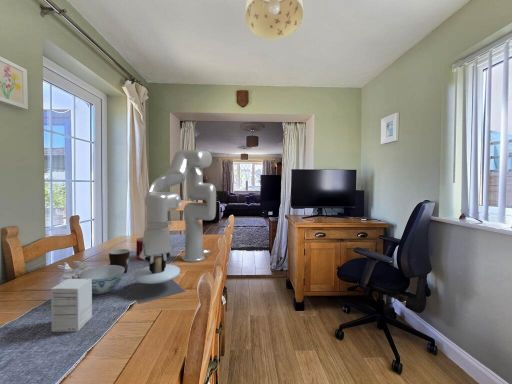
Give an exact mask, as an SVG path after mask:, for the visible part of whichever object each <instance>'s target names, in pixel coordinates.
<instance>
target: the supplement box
mask: <svg viewBox="0 0 512 384" xmlns="http://www.w3.org/2000/svg"><path fill="white" fill-rule="evenodd" d="M92 296H93V293H92V279H79V278H67V279H65V280H64V281H62V282H61V283H58V284H57V285H55V286H53V287H51V289H50V297H51V298H50V305H51V308H50V309H51V310H50V311H51V318H50V319H51V332H52V333H62V332H63V333H64V332H65V333H66V332H79V331H80V330H81V329H82V328H83V327H84V326H85V325H87V323H88V321H90V319H92V317H93V297H92Z"/></svg>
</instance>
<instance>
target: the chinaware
mask: <svg viewBox="0 0 512 384" xmlns="http://www.w3.org/2000/svg"><path fill="white" fill-rule="evenodd" d="M124 275H125V274H124V267H122V266H117V265H100V266H94V267H91V268H88V269H85V270H83V271H81V272H80V273H79V274H78V279H92V294H97V295H99V294H105V293H108V292H110V291H112V290H113V288H114V289H115V287H116V286H118V285H119V283H120V282H121V280H122V279H123V276H124Z"/></svg>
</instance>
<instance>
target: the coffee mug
mask: <svg viewBox="0 0 512 384" xmlns="http://www.w3.org/2000/svg"><path fill="white" fill-rule="evenodd" d="M130 252H131V251H130V249H127V248H117V249H113V250H109V251H108V257H109V258H108V259H109V264H110V265H117V266H122V267H124V274H123V275H125V274H126V273H128V268H129V262H130V261H129V260H130Z"/></svg>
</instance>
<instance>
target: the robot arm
mask: <svg viewBox="0 0 512 384" xmlns="http://www.w3.org/2000/svg"><path fill="white" fill-rule="evenodd" d="M212 162H213V157H212V154H211V152H210V151H208V150H201V149H181V150H180V149H179V150H178V151H176V153H175V154H174V156H173V158H172V160H171V163H170V166H169V167H168V170H167V171H166V172H165V173H163V174H161V175H160V176H158V177H157V178H155V180H153V181H152V183H151V184H150V185H149V188H148V189H147V192H146V193H145V194H146V195H145V198H144V204H145V207H146V228H144V231H143V236H142V237H143V250H142V252H141V254H140V255H139V257H140V258H142V259H145V260H144V261H147V262H148V266H149V270H150V271H151V272H152V273H155V263H154V261H153V259H154V256H162V271H165V268H166V264H167V263H166V262H167V261H168V259H169V257H170V256H171V255H172V254H174V253H175V250H174V247H173V246H172V236H171V230H170V228H169V226H170V225H172V221H171V220H169V218H168V212H169V211H175V210H177V209H179V208H180V206H181V205H182V197H181V196H180V194H178V193H176V192H175V191H174V192H171V191H170V192H169V191H168V192H167V191H164V190H166V189H169V188H170V187H173V186H177V185H180V184H182V183H183V182H185V181H186V197H187V198H188V200H192V201H204V202H188V203H186V204H185V205H184V206H183V217H184V224H185V225H184V226H185V227H184V228H185V229H184V230H185V231H184V255H182V256H181V260H182V261H183V262H187V263H197V262H201V261H203V260H205V259H206V256H205V255H206V254H209V255H210V254H211V250H210V249H208V250H206V249H203V240H204V239H203V238H204V237H203V235H204V234H203V230H204V228H203V225H202V223H201V221H213V220H214V219H215V218H216V214H217V188H216V186H215V185H214V184H213V183H210V182H209V183H206V182H205V183H204V181H203V179H204V178H203V177H204V176H203V172H202V170H201V169H203V168H209V167H210V166H211V164H212ZM200 168H201V169H200ZM205 201H206V202H205ZM145 255H146V256H145ZM147 256H148V257H147Z"/></svg>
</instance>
